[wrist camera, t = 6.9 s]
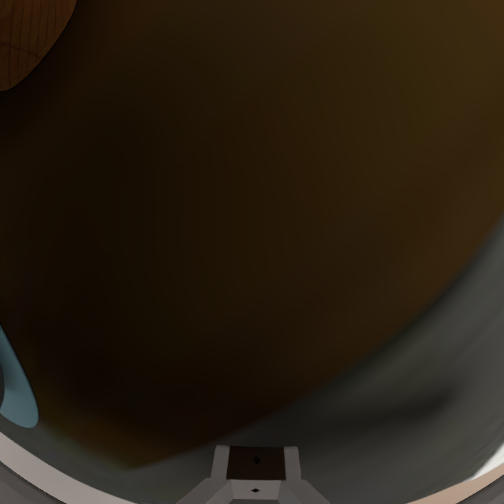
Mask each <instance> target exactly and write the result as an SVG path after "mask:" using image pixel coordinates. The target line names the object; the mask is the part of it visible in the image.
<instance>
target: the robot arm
mask: <svg viewBox="0 0 504 504" xmlns="http://www.w3.org/2000/svg"><path fill="white" fill-rule="evenodd" d="M233 499H278V502H279V503H280V504H331V503H330V502H329V501H328V500H327V499H326V498H324V497H323V496H322V495H321V494H320V493H319V492H318V491H317V490H316V489H315V488H314V487H313V486H312V485H311V484H310V483H309V482H307V481H306V480H301V470H300V462H299V453H298V448H297V446H287V447H283V446H277V447H242V446H229V445H216V448H215V453H214V459H213V465H212V471H211V476H210V478H205V479H204V480H203V481H202V482H201V483H200V484H199V485H197V486H196V487H195V488H194V489H193V490H191V491H190V492H189V493H188V494H187V495H185V496H184V497H183V498H182V499H180V500H179V501H178V502H177V503H175V504H229V503H230V502H231V501H232V500H233ZM0 504H66V503H64V502H62V501H60V500H58V499H57V498H55V497H53V496H51V495H49V494H48V493H46V492H44V491H43V490H41V489H39V488H38V487H36V486H35V485H33V484H32V483H30V482H28V481H27V480H25V479H24V478H23V477H21V476H20V475H18V474H17V473H15V472H14V471H13V470H11V469H10V468H9V467H7V466H6V465H4V464H3V463H2V462H1V461H0ZM457 504H504V475H502V476H501V477H500V478H498V479H496V480H495V481H494V482H492V483H490V484H489V485H487V486H486V487H484V488H483V489H481V490H479V491H478V492H476V493H475V494H473V495H471V496H469V497H468V498H466V499H464V500H462V501H460V502H459V503H457Z"/></svg>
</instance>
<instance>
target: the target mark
mask: <svg viewBox="0 0 504 504" xmlns="http://www.w3.org/2000/svg"><path fill="white" fill-rule="evenodd" d="M0 364H1V367H2V371H3V375H4V382H5V394H4V400H3V403H2V406H1V408H0V413H1V414H2V415H3V416H4V417H6V418H7V419H8V420H10V421H12V422H13V423H15V424H17V425H19V426H22V427H25V428H32V427H34V426H35V425H36V424H37V423H38V420H39V410H38V405H37V402H36V398H35V396H34V393H33V390H32V388H31V385H30V383H29V381H28V378H27V376H26V374H25V372H24V370H23V368H22V366H21V363H20V362H19V360H18V358H17V356H16V354H15V352H14V350H13V348H12V346H11V344H10V342H9V340H8V338H7V336H6V334H5V332H4V331H3V329H2V327H1V325H0Z"/></svg>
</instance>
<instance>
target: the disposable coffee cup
mask: <svg viewBox="0 0 504 504" xmlns="http://www.w3.org/2000/svg"><path fill="white" fill-rule="evenodd" d="M76 2H77V0H0V91H5V90H8V89H10V88H12V87H14V86H15V85H16V84H18V83H19V82H20V81H22V80H23V79H24V78H25V77H26V76H27V75H28V74H29V73H30V72H31V71H32V70H33V69H34V68H35V67H36V66H37V65H38V64H39V63H40V61H41V60H42V59H43V58H44V56H45V55H46V54H47V53H48V51H49V50H50V49H51V47H52V46H53V45H54V43H55V42H56V41H57V39H58V38H59V36H60V34H61V33H62V31H63V30H64V28H65V27H66V25H67V23H68V21H69V19H70V18H71V16H72V13H73V11H74V9H75V6H76Z"/></svg>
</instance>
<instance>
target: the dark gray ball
mask: <svg viewBox="0 0 504 504" xmlns="http://www.w3.org/2000/svg"><path fill="white" fill-rule="evenodd" d="M4 394H5V382H4V375H3V371H2V367H1V364H0V408H1V406H2V403H3V400H4Z"/></svg>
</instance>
